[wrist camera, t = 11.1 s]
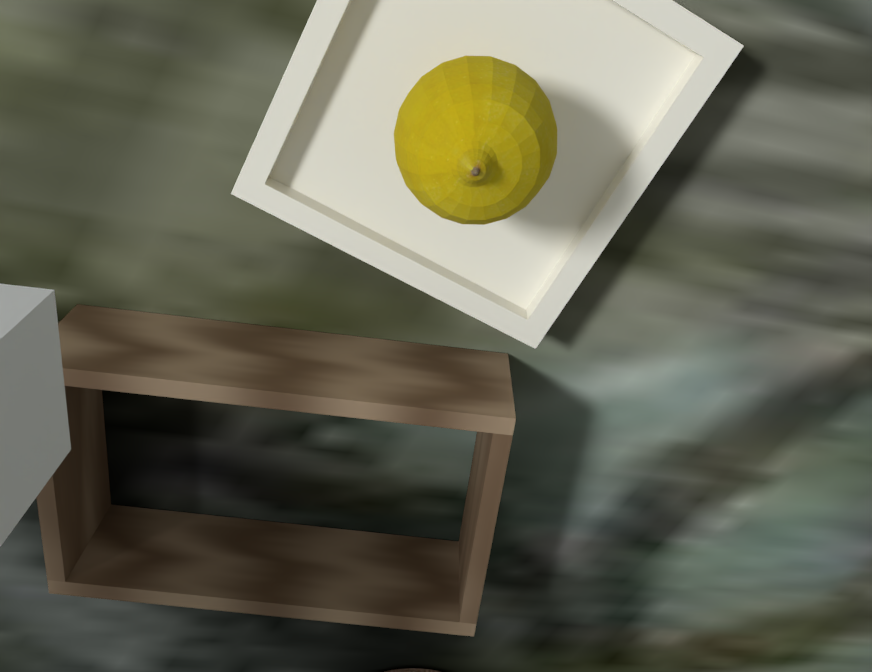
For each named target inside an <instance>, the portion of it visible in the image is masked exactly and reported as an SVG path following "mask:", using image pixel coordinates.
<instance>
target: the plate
mask: <svg viewBox="0 0 872 672" xmlns="http://www.w3.org/2000/svg"><path fill="white" fill-rule="evenodd" d="M742 48H743V45H742V44H740V43H739V42H737V41H735V40H734V39H732V38H731V37H729V36H728V35H726V34H724V33H723V32H721V31H720V30H718V29H717V28H715V27H713V26H712V25H710V24H709V23H707V22H706V21H704V20H702V19H701V18H699V17H698V16H696V15H695V14H693V13H691V12H690V11H688V10H687V9H685V8H684V7H682V6H680V5H679V4H677V3H676V2H674V1H673V0H317V2H316V4H315V6H314V8H313V11H312V13H311V15H310V17H309V19H308V22H307V24H306V26H305V28H304V31H303V33H302V35H301V37H300V40H299V42H298V44H297V46H296V49H295V51H294V53H293V55H292V58H291V60H290V62H289V64H288V67H287V69H286V71H285V73H284V76H283V78H282V80H281V82H280V85H279V87H278V89H277V91H276V94H275V96H274V98H273V100H272V103H271V105H270V107H269V109H268V112H267V114H266V116H265V118H264V121H263V123H262V125H261V127H260V130H259V132H258V134H257V136H256V138H255V141H254V143H253V145H252V147H251V150H250V152H249V154H248V156H247V159H246V161H245V163H244V165H243V168H242V170H241V172H240V174H239V177H238V179H237V181H236V183H235V186H234V188H233V190H232V192H231V194H232V195H234V196H236V197H238V198H240V199H242V200H244V201H246V202H248V203H250V204H252V205H254V206H256V207H258V208H260V209H262V210H264V211H266V212H268V213H270V214H272V215H274V216H276V217H278V218H280V219H282V220H284V221H285V222H287V223H289V224H291V225H293V226H295V227H297V228H299V229H301V230H303V231H305V232H307V233H309V234H311V235H313V236H315V237H317V238H319V239H321V240H323V241H325V242H327V243H329V244H331V245H333V246H335V247H337V248H339V249H340V250H342V251H344V252H346V253H348V254H350V255H352V256H354V257H356V258H358V259H360V260H362V261H364V262H366V263H368V264H370V265H372V266H374V267H376V268H378V269H380V270H382V271H384V272H386V273H388V274H390V275H392V276H393V277H395V278H397V279H399V280H401V281H403V282H405V283H407V284H409V285H411V286H413V287H415V288H417V289H419V290H421V291H423V292H425V293H427V294H429V295H431V296H433V297H435V298H437V299H439V300H441V301H443V302H445V303H447V304H448V305H450V306H452V307H454V308H456V309H458V310H460V311H462V312H464V313H466V314H468V315H470V316H472V317H474V318H476V319H478V320H480V321H482V322H484V323H486V324H488V325H490V326H492V327H494V328H496V329H498V330H500V331H501V332H503V333H505V334H507V335H509V336H511V337H513V338H515V339H517V340H519V341H521V342H523V343H525V344H527V345H529V346H531V347H533V348H535V349H536V347H537V346H538V344H539V343H540V341H541V340H542V339H543V337H544V336H545V334H546V333H547V331H548V330H549V328H550V327H551V325H552V324H553V323H554V321H555V320H556V318H557V317H558V315H559V314H560V312H561V311H562V309H563V308H564V307H565V305H566V304H567V302H568V301H569V299H570V298H571V296H572V295H573V294H574V292H575V291H576V289H577V288H578V286H579V285H580V283H581V282H582V280H583V279H584V278H585V276H586V275H587V273H588V272H589V270H590V269H591V267H592V266H593V264H594V263H595V262H596V260H597V259H598V257H599V256H600V254H601V253H602V251H603V250H604V248H605V247H606V246H607V244H608V243H609V241H610V240H611V238H612V237H613V235H614V234H615V232H616V231H617V230H618V228H619V227H620V225H621V224H622V222H623V221H624V219H625V218H626V216H627V215H628V214H629V212H630V211H631V209H632V208H633V206H634V205H635V203H636V202H637V201H638V199H639V198H640V196H641V195H642V193H643V192H644V190H645V189H646V187H647V186H648V185H649V183H650V182H651V180H652V179H653V177H654V176H655V174H656V173H657V171H658V170H659V169H660V167H661V166H662V164H663V163H664V161H665V160H666V158H667V157H668V155H669V154H670V153H671V151H672V150H673V148H674V147H675V145H676V144H677V142H678V141H679V139H680V138H681V137H682V135H683V134H684V132H685V131H686V129H687V128H688V126H689V125H690V123H691V122H692V121H693V119H694V118H695V116H696V115H697V113H698V112H699V110H700V109H701V108H702V106H703V105H704V103H705V102H706V100H707V99H708V97H709V96H710V94H711V93H712V92H713V90H714V89H715V87H716V86H717V84H718V83H719V81H720V80H721V78H722V77H723V76H724V74H725V73H726V71H727V70H728V68H729V67H730V65H731V64H732V62H733V61H734V60H735V58H736V57H737V55H738V54H739V52H740V51H741V49H742ZM463 56H491V57H494V58H497V59H500V60H503V61H506V62H509V63H511V64H514V65H516V66H518V67H519V68H520V69H521V70H523V71H524V72H525V73H527V74H528V75H529V76H531V77H532V78H533V79H535V80H536V82H537V83H538V85H539V86H540V88H541V89H542V90H543V92H544V93H545V95H546V96H547V98H548V99H549V101H550V104H551V107H552V111H553V114H554V118H555V121H556V125H557V156H556V159H555V162H554V165H553V168H552V171H551V174H550V177H549V178H548V180H547V181H546V183H545V184H544V185H543V187H542V188H541V189H540V191H539V192H538V193H537V195H536V196H535V197H534V198H533V199H532V200H531V202H530V203H529V204H528V205H527V206H526V207H525V208H523V209H522V210H520V211H518V212H517V213H515V214H513V215H512V216H510V217H508V218H507V219H504V220H500V221H496V222H493V223H489V224H485V225H477V224H460V223H457V222H454V221H450V220H447V219H444V218H441V217H440V216H438V215H437V214H435V213H434V212H432V211H431V210H429V209H428V208H426V207H425V206H423V205H422V204H421V203H420V202H419V201H418V200H417V198H416V197H415V196H414V195H413V193H412V192H411V191H410V190H409V188H408V187H407V186H406V184H405V182H404V179H403V177H402V174H401V172H400V169H399V167H398V164H397V161H396V156H395V144H394V130H395V125H396V121H397V116H398V112H399V109H400V107H401V105H402V103H403V102H404V100H405V98H406V96H407V95H408V93H409V92H410V90H411V89H412V88H413V87H414V85H415V84H416V83H417V82H418V80H419V79H420V78H421V77H422V76H423V75H425V74H426V73H428V72H429V71H431V70H432V69H434V68H435V67H437V66H438V65H439V64H441V63H443V62H446V61H449V60H453V59H456V58H459V57H463Z"/></svg>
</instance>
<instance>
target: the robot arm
mask: <svg viewBox="0 0 872 672" xmlns="http://www.w3.org/2000/svg"><path fill="white" fill-rule="evenodd" d="M70 450H71V443H70V433H69V424H68V414H67V405H66V395H65V386H64V376H63V367H62V357H61V348H60V338H59V329H58V319H57V310H56V300H55V291H54V290H51V289H43V288H34V287H25V286H16V285H7V284H0V547H1V545H2V544H3V542H4V541H5V540H6V538H7V537H8V536H9V534H10V533H11V531H12V530H13V529H14V527H15V526H16V525H17V523H18V522H19V520H20V519H21V518H22V516H23V515H24V514H25V512H26V511H27V509H28V508H29V507H30V505H31V504H32V502H33V501H34V500H35V498H36V497H37V496H38V494H39V493H40V491H41V490H42V489H43V487H44V486H45V485H46V483H47V482H48V480H49V479H50V478H51V476H52V475H53V474H54V472H55V471H56V469H57V468H58V467H59V465H60V464H61V463H62V461H63V460H64V458H65V457H66V456H67V454H68V453H69V452H70Z"/></svg>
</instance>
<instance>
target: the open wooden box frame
mask: <svg viewBox="0 0 872 672" xmlns="http://www.w3.org/2000/svg"><path fill="white" fill-rule="evenodd" d="M58 329H59V338H60V348H61V357H62V367H63V376H64V386H65V395H66V405H67V414H68V424H69V433H70V443H71V450H70V452H69V453H68V454H67V456H66V457H65V458H64V460H63V461H62V463H61V464H60V465H59V467H58V468H57V469H56V471H55V472H54V474H53V475H52V476H51V478H50V479H49V480H48V482H47V483H46V485H45V486H44V487H43V489H42V490H41V491H40V493H39V494H38V496H37V497H36V498H37V505H38V513H39V521H40V528H41V536H42V543H43V551H44V558H45V566H46V573H47V581H48V588H49V593H52V594H62V595H71V596H81V597H91V598H101V599H111V600H120V601H130V602H140V603H150V604H160V605H169V606H179V607H189V608H199V609H209V610H218V611H228V612H238V613H248V614H258V615H267V616H277V617H287V618H297V619H307V620H316V621H326V622H336V623H346V624H356V625H365V626H375V627H385V628H395V629H405V630H414V631H424V632H434V633H444V634H454V635H463V636H473V637H474V634H475V629H476V623H477V618H478V613H479V608H480V603H481V598H482V592H483V587H484V582H485V577H486V572H487V567H488V561H489V556H490V551H491V546H492V541H493V535H494V530H495V525H496V520H497V515H498V510H499V504H500V499H501V494H502V489H503V484H504V479H505V473H506V468H507V463H508V458H509V453H510V447H511V442H512V437H513V432H514V427H515V422H516V414H515V406H514V398H513V390H512V382H511V374H510V366H509V358H508V354H507V353H498V352H489V351H481V350H472V349H463V348H454V347H446V346H437V345H428V344H420V343H411V342H402V341H393V340H385V339H376V338H367V337H358V336H350V335H341V334H332V333H323V332H315V331H306V330H297V329H288V328H280V327H271V326H262V325H253V324H245V323H236V322H227V321H219V320H210V319H201V318H192V317H184V316H175V315H166V314H157V313H149V312H140V311H131V310H122V309H114V308H105V307H96V306H87V305H79V304H77V305H76V306H75V307H74V308H73V309H72V310H71V311H70V312H69V313H68V314H67V315H66V316H65V317H64V318H63V319H62V320H61V321H60V322H59V323H58ZM102 390H108V391H117V392H126V393H135V394H144V395H153V396H162V397H171V398H180V399H189V400H198V401H207V402H216V403H225V404H234V405H243V406H252V407H261V408H270V409H279V410H288V411H297V412H306V413H315V414H324V415H333V416H342V417H351V418H360V419H369V420H378V421H387V422H396V423H405V424H414V425H423V426H432V427H441V428H450V429H459V430H468V431H477V436H476V442H475V448H474V454H473V460H472V465H471V471H470V477H469V483H468V489H467V495H466V501H465V507H464V513H463V519H462V525H461V531H460V537H459V541H450V540H441V539H431V538H422V537H412V536H403V535H393V534H384V533H375V532H365V531H356V530H346V529H337V528H327V527H318V526H309V525H299V524H290V523H280V522H271V521H261V520H252V519H243V518H233V517H224V516H214V515H205V514H195V513H186V512H177V511H167V510H158V509H148V508H139V507H130V506H120V505H111V496H110V484H109V472H108V459H107V447H106V434H105V422H104V410H103V397H102Z"/></svg>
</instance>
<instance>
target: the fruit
mask: <svg viewBox="0 0 872 672" xmlns="http://www.w3.org/2000/svg"><path fill="white" fill-rule="evenodd" d="M394 144H395V156H396V161H397V164H398V167H399V169H400V172H401V174H402V177H403V179H404V182H405V184H406V186H407V187H408V188H409V190H410V191H411V192H412V193H413V195H414V196H415V197H416V198H417V200H418V201H419V202H420V203H421V204H422V205H423V206H425V207H426V208H428V209H429V210H431V211H432V212H434V213H435V214H437V215H438V216H440V217H441V218H444V219H447V220H450V221H454V222H457V223H460V224H477V225H485V224H489V223H493V222H496V221H500V220H504V219H507V218H508V217H510V216H512V215H513V214H515V213H517V212H518V211H520V210H522V209H523V208H525V207H526V206H527V205H528V204H529V203H530V202H531V200H532V199H533V198H534V197H535V196H536V195H537V193H538V192H539V191H540V189H541V188H542V187H543V185H544V184H545V183H546V181H547V180H548V178H549V177H550V174H551V171H552V168H553V165H554V162H555V159H556V156H557V125H556V121H555V118H554V114H553V111H552V107H551V104H550V101H549V99H548V98H547V96H546V95H545V93H544V92H543V90H542V89H541V88H540V86H539V85H538V83H537V82H536V80H535V79H533V78H532V77H531V76H529V75H528V74H527V73H525V72H524V71H523V70H521V69H520V68H519V67H518V66H516V65H514V64H511V63H509V62H506V61H503V60H500V59H497V58H494V57H491V56H463V57H459V58H456V59H453V60H449V61H446V62H443V63H441V64H439V65H438V66H437V67H435V68H434V69H432V70H431V71H429V72H428V73H426V74H425V75H423V76H422V77H421V78H420V79H419V80H418V82H417V83H416V84H415V85H414V87H413V88H412V89H411V90H410V92H409V93H408V95H407V96H406V98H405V100H404V102H403V103H402V105H401V107H400V109H399V112H398V116H397V121H396V125H395V130H394Z"/></svg>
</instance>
